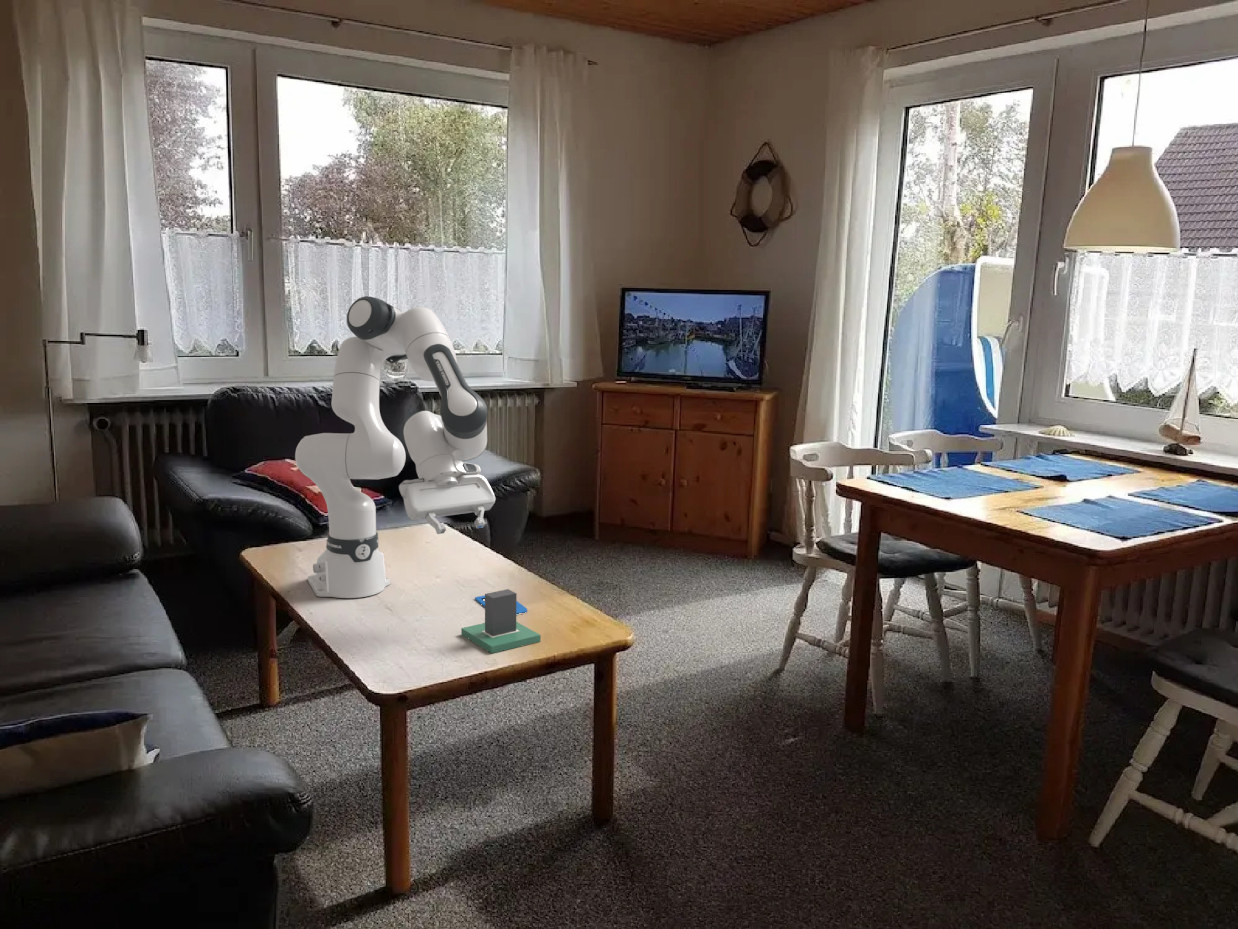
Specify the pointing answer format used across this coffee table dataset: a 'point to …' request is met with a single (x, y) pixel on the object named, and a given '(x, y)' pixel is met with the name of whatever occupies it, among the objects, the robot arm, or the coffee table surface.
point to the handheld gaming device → (519, 607)
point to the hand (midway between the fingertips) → (461, 529)
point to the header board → (500, 637)
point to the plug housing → (500, 612)
